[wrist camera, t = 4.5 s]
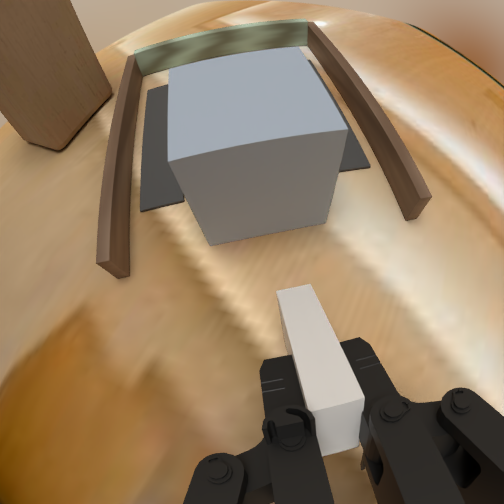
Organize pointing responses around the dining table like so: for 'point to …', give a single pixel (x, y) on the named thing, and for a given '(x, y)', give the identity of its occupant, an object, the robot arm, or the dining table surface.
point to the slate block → (254, 143)
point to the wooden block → (47, 71)
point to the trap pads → (156, 152)
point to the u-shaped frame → (226, 43)
